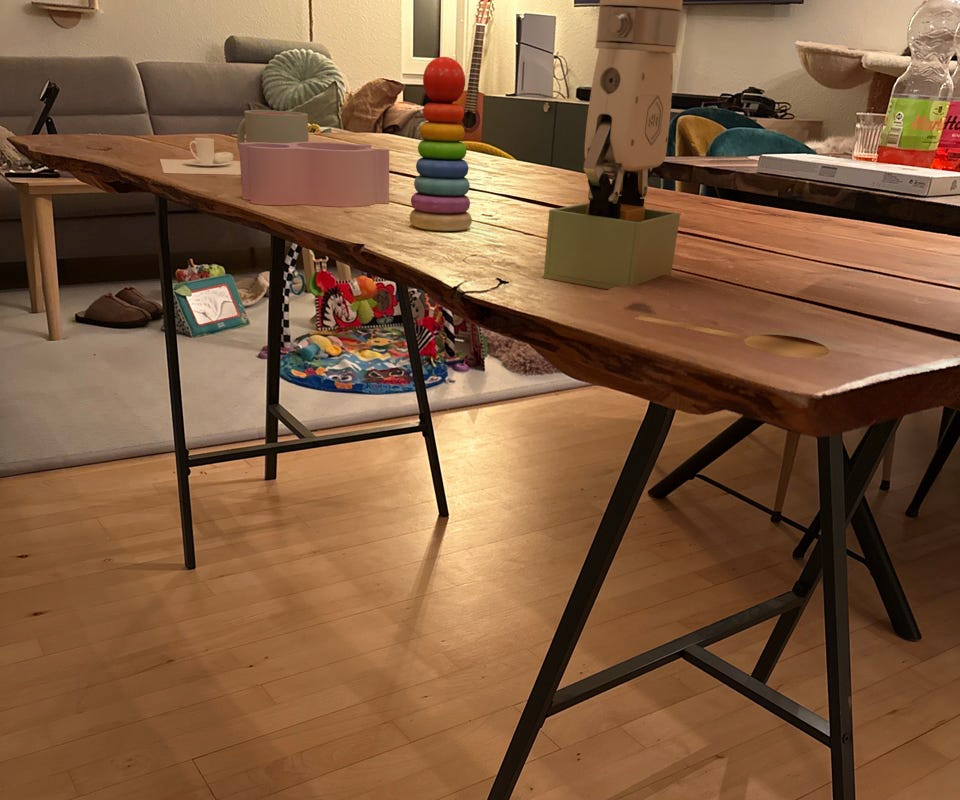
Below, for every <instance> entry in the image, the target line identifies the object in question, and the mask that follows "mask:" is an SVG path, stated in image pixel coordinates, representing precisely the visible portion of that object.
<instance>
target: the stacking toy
mask: <svg viewBox="0 0 960 800" xmlns="http://www.w3.org/2000/svg"><path fill="white" fill-rule="evenodd" d="M422 85H423V88H424V91H425V94H426V96H427V97H428V98H429V99H430V100H431V101H432V102H427V103H426V104H425V105H424V106H423V109H422V116H423V118H424V119H425V120H426V121H425V122H423V123H422V124H421V125H420V127H419V135H420V137H421V138H422V139H423V140H421V141H420V142H419V143H418V146H417V152H418V154H419V156H420V158H418V159H417V161H416V163H415V169H416V172H417V174H419V175H417V176H416V177H415V178H414V181H413V186H414V189H415V191H416V192H415V193H413V194H412V195H411V197H410V205H411V207H412V208H413V210H411V212H410V213H409V216H408V217H409V222H410V224H411V225H412V226H414V227H415V228H417V229H421V230H426V231H427V230H428V231H434V232H457V231H464V230H467V229H468V228H470V226H471V225H472V223H473V222H472V221H473V217H472V216H471V214H470V212H468V211H469V209H470V207H471V202H470V198H469V197H468V196H467V194H468V192H469V191H470V188H471V187H470V186H471V184H470V181H469V179H468V178H467V177H466V176H467V175H468V173H469V164H468V163H467V161H466V160H465V159H464V158H465V157H466V155H467V146H466V144H465V143H464V142H462V140H463V139H464V137H465V134H466V133H465V128H464V125H462V124H461V122H462V121H463V119H464V116H465V109H464V107H463V106H462V105H461V104H458V103H455V102H457V101H458V100H459V99H460V98H461V97H462V95H463V93H464V91H465V87H466V74H465V72H464V69H463V67H462V66H461V64H460V63H459V62H458V61H457V60H455V59H454V58H452V57H449V56H437V57H435V58H434V59H432V60H431V61H430V62H429V63H428V64H427V65H426V67H425V69H424V71H423V75H422Z"/></svg>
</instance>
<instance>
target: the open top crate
mask: <svg viewBox="0 0 960 800" xmlns="http://www.w3.org/2000/svg"><path fill="white" fill-rule="evenodd" d="M589 203H590V201H589V202H586V203H579V204H573V205H569V206H562V207H558V208H553V209H549V210H548V220H547V221H548V222H547V233H546V245H545V258H544V267H543V268H544V269H543V278H544V279H547V280H552V281H558V282H564V283H569V284H575V285H581V286H585V287H591V288H597V289H602V290H612V289H614V288H617V287H620V286H630V287H635V286H637V285H640V284H643V283H645V282H648V281H651V280H655V279H657V278H659V277H662V276H670V277H671V276H672V272H673V266H674V257H675V252H676V245H677V238H678V231H679V225H680V218H681V213H679V212H674V211H673V212H672V211H667V210H657V209H651V208H645V215H644V221H641V222H634V221H628V220H621V219H614V218H607V217H600V216H593V215H586V210H587V206H588V205H589Z"/></svg>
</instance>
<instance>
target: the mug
mask: <svg viewBox="0 0 960 800" xmlns="http://www.w3.org/2000/svg"><path fill="white" fill-rule="evenodd" d="M243 112H244V118H243V119H242V120H241V121H240V123H239V125H238V128H237V134H236V137H237V138H236V144H237V149H238V150H239V143H249V142H263V143H293V142H310V141H309V118H308V117H309V114H308V113H306V112H305V113H304V112H297V111H289V110H288V111H285V110H271V109H270V110H265V109H249V110H244V111H243Z"/></svg>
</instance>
